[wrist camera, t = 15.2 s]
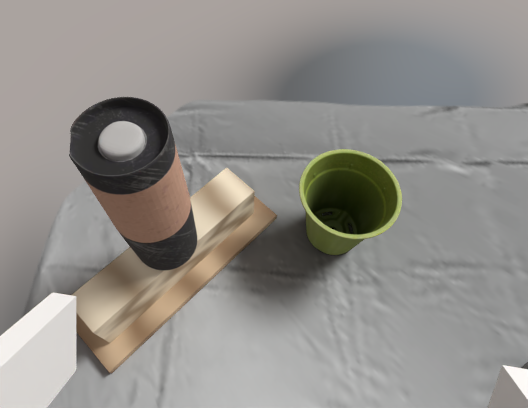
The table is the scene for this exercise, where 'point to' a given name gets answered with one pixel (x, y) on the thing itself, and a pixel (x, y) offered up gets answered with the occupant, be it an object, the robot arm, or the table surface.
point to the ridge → (167, 273)
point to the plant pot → (347, 199)
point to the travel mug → (137, 178)
